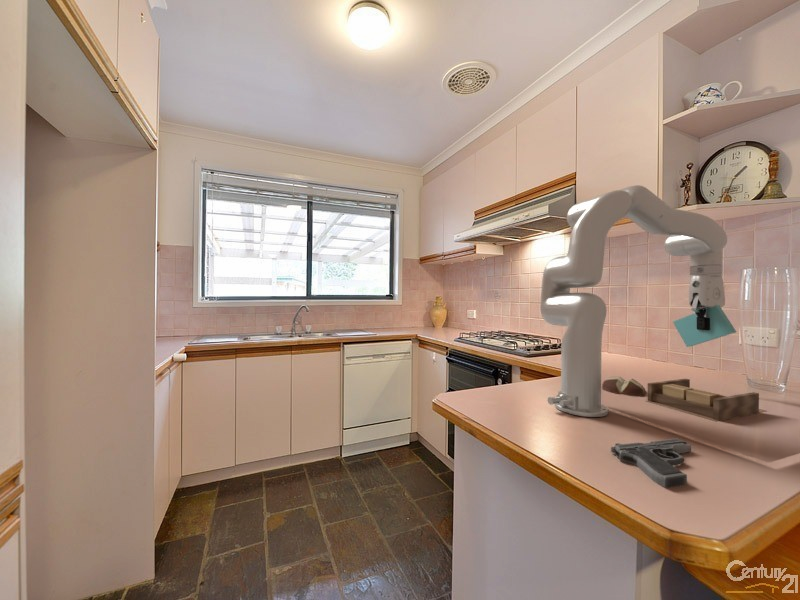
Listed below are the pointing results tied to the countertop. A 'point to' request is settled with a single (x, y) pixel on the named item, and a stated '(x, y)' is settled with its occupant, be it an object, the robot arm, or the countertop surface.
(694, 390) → the offcut right
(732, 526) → the countertop surface
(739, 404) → the rack
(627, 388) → the bread
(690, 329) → the panel
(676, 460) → the handgun
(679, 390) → the offcut left
